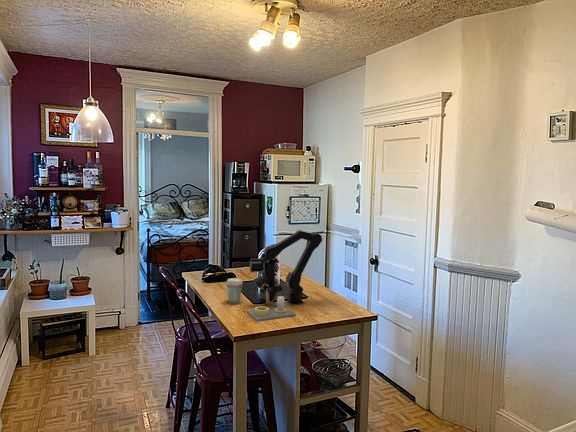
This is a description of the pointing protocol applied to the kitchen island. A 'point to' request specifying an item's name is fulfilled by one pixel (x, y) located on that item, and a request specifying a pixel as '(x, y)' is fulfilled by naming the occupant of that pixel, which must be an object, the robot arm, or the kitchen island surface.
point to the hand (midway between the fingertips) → (269, 300)
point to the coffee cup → (234, 290)
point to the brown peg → (268, 298)
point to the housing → (271, 311)
